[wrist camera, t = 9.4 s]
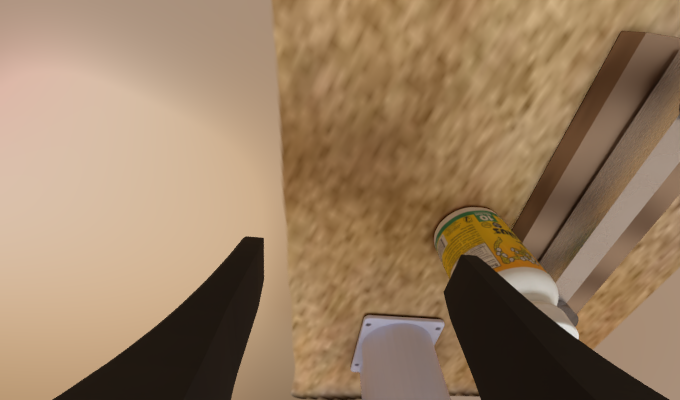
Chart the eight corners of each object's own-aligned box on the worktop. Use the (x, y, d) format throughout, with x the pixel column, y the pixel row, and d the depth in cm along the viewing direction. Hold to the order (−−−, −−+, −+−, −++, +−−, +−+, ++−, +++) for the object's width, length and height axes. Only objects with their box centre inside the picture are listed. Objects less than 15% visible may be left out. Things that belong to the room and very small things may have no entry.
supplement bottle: (418, 234, 23) (465, 350, 15) (475, 191, 21) (564, 297, 13) (458, 266, 25) (518, 384, 17) (513, 229, 23) (611, 342, 15)
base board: (562, 304, 29) (573, 318, 27) (474, 298, 28) (481, 312, 26) (762, 54, 17) (797, 57, 16) (621, 31, 16) (646, 32, 15)
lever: (539, 309, 26) (596, 388, 20) (501, 306, 26) (548, 386, 20) (728, 55, 15) (952, 76, 10) (667, 45, 15) (862, 61, 10)
